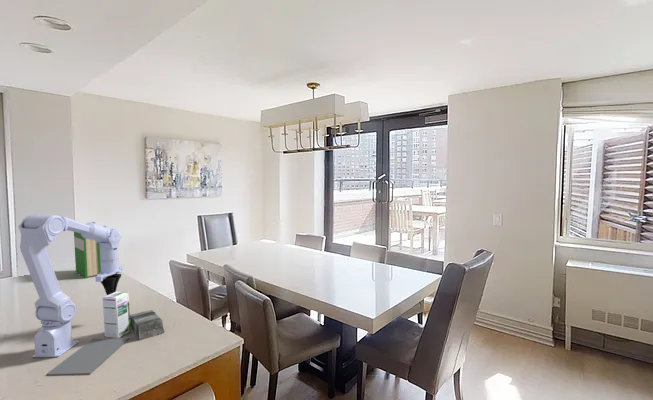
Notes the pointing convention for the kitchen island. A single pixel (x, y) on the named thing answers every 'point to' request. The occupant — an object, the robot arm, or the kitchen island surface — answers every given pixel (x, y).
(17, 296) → the kitchen island surface
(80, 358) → the mat
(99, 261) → the hardback book
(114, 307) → the syrup box
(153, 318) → the stone block
